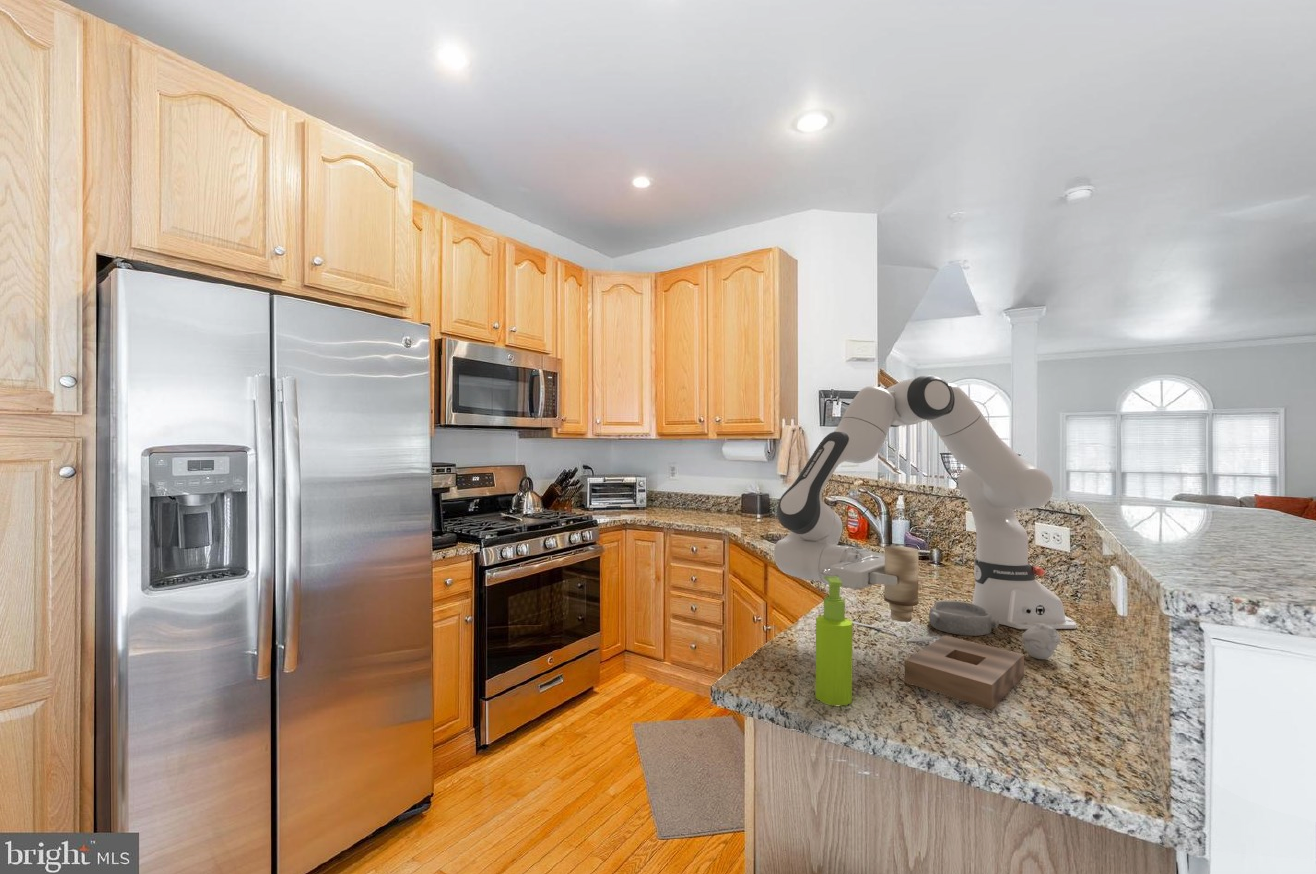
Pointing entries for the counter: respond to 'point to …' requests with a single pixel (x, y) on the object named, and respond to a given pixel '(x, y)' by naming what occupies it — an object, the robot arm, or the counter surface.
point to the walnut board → (965, 670)
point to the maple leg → (902, 581)
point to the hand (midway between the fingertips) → (905, 577)
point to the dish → (961, 618)
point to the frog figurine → (1041, 641)
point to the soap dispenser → (834, 649)
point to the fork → (894, 633)
